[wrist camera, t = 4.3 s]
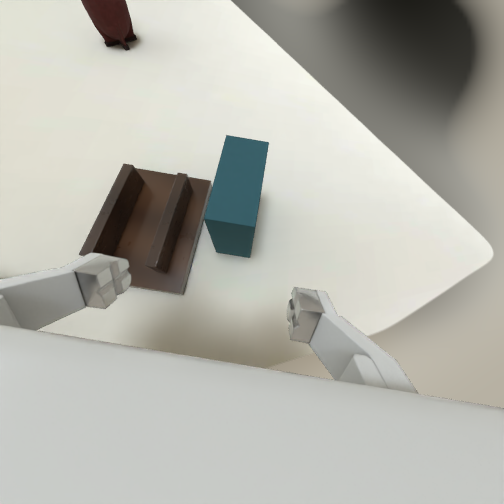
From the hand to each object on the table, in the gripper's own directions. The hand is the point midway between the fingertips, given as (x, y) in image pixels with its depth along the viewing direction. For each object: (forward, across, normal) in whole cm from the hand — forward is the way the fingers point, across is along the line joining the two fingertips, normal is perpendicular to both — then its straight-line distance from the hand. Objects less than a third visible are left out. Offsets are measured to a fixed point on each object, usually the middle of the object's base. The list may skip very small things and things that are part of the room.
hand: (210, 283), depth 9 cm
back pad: (+18, -1, -2) cm, 18 cm away
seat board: (+15, -12, -4) cm, 20 cm away
